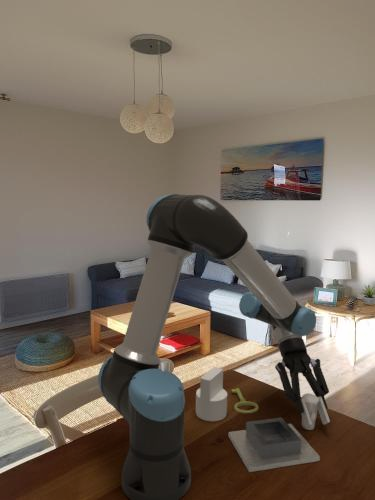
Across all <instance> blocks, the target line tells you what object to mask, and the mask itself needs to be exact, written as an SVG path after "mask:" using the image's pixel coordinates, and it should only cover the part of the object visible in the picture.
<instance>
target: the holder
mask: <svg viewBox="0 0 375 500" xmlns="http://www.w3.org/2000/svg"><path fill="white" fill-rule="evenodd" d="M228 438H229V440H230V442H231V443H232V445H233V447H234V449H235V451H236V452H237V454H238V455H239V457H240V460H241V461H242V462H243V464H244V466H245V468H246V469H247V471H248V473H253V472H260V471H266V470H272V469H279V468H284V467H291V466H297V465H303V464H308V463H316V462H320V460H321V456H320V455H319V454H318V452H316V450H315V449H314V448H313V447H312V446H311V445H310V443H309V442H308V441H307V440H306V438H304V437H303V435H302V434H301V433H300V432H299V430H297V429H296V427H295V426H294V424H292V423H287V421H285V419H284V418H283V417H275V418H267V419H259V420H250V421H246V422H245V429H242V430H234V431H229V432H228Z"/></svg>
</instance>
